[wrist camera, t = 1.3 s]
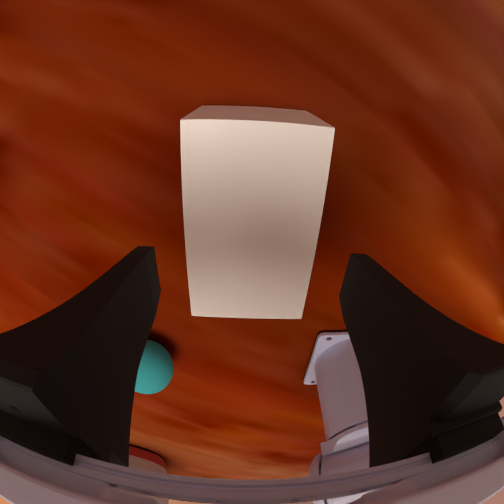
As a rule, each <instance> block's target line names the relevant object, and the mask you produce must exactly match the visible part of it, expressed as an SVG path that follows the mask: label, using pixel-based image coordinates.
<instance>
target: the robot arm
mask: <svg viewBox="0 0 504 504" xmlns="http://www.w3.org/2000/svg"><path fill="white" fill-rule="evenodd" d="M160 292H161V289H160V283H159V277H158V271H157V264H156V257H155V250H154V247H149V246H138V247H137V248H135V249H134V250H133V251H131V252H130V253H129V254H128V255H126V256H125V257H124V258H123V259H122V260H120V261H119V262H118V263H117V264H115V265H114V266H113V267H112V268H111V269H109V270H108V271H107V272H106V273H105V274H103V275H102V276H101V277H99V278H98V279H97V280H96V281H94V282H93V283H92V284H90V285H89V286H88V287H86V288H85V289H84V290H82V291H81V292H80V293H78V294H77V295H75V296H74V297H72V298H71V299H69V300H68V301H66V302H65V303H63V304H62V305H60V306H58V307H56V308H55V309H53V310H51V311H49V312H47V313H46V314H44V315H42V316H40V317H38V318H36V319H34V320H32V321H30V322H28V323H26V324H24V325H21V326H19V327H17V328H15V329H12V330H10V331H7V332H4V333H1V334H0V497H2V498H3V499H5V500H6V501H8V502H10V503H11V504H158V503H157V501H156V500H155V499H153V498H149V497H145V496H141V495H137V494H134V493H138V494H143V495H148V496H153V497H159V498H166V499H173V500H181V501H190V502H199V503H213V504H284V503H297V502H307V501H313V503H314V504H481V503H483V502H484V501H486V500H487V499H489V498H490V497H492V496H493V495H495V494H496V493H498V492H499V491H500V490H502V489H503V488H504V417H502V418H501V419H500V417H499V414H498V412H500V411H501V409H502V406H501V404H500V402H499V400H501V399H502V398H503V397H504V344H501V343H499V342H496V341H493V340H491V339H489V338H486V337H484V336H482V335H480V334H478V333H475V332H474V331H472V330H470V329H468V328H466V327H464V326H462V325H460V324H459V323H457V322H455V321H453V320H452V319H450V318H448V317H447V316H445V315H444V314H442V313H441V312H439V311H438V310H436V309H435V308H433V307H432V306H430V305H429V304H427V303H426V302H425V301H423V300H422V299H421V298H419V297H418V296H417V295H416V294H414V293H413V292H412V291H410V290H409V289H408V288H407V287H405V286H404V285H403V284H402V283H401V282H399V281H398V280H397V279H396V278H395V277H394V276H392V275H391V274H390V273H389V272H388V271H386V270H385V269H384V268H383V267H382V266H380V265H379V264H378V263H377V262H376V261H374V260H373V259H372V258H370V257H369V256H367V255H366V254H351V255H350V259H349V262H348V266H347V270H346V273H345V277H344V281H343V284H342V288H341V291H340V294H339V298H340V304H341V309H342V314H343V319H344V322H345V325H346V328H347V331H348V332H324V333H320V334H319V335H318V336H317V340H316V343H315V346H314V349H313V353H312V356H311V359H310V362H309V365H308V368H307V371H306V374H305V377H304V384H306V385H310V384H317V388H318V394H319V399H320V405H321V411H322V417H323V423H324V429H325V436H326V442H323V443H321V444H320V445H321V452H322V453H319V454H317V455H316V456H315V457H314V459H313V461H312V463H311V465H310V468H309V476H308V477H302V478H289V479H268V480H232V479H211V478H198V477H188V476H179V475H171V474H164V473H157V472H151V471H145V470H140V469H135V468H130V467H129V438H130V425H131V414H132V406H133V399H134V392H135V386H136V380H137V374H138V369H139V365H140V362H141V358H142V355H143V352H144V349H145V346H146V343H147V340H148V337H149V334H150V331H151V328H152V325H153V322H154V319H155V315H156V312H157V307H158V302H159V297H160ZM328 337H329V338H328ZM127 491H128V492H127ZM131 492H133V493H131Z"/></svg>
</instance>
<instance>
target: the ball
mask: <svg viewBox="0 0 504 504" xmlns="http://www.w3.org/2000/svg"><path fill="white" fill-rule="evenodd" d="M172 375H173V362H172V359H171V356H170V354H169V353H168V351H167V350H166V349H165V348H164V347H163V346H162V345H160V344H159V343H157V342H155V341H152V340H147V343H146V346H145V349H144V352H143V355H142V358H141V362H140V365H139V369H138V374H137V380H136V386H135V391H136V392H138V393H142V394H154V393H157V392H159V391H161V390H163V389H164V388H165V387H166V386H167V385H168V384H169V382H170V381H171V378H172Z"/></svg>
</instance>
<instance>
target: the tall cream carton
mask: <svg viewBox="0 0 504 504" xmlns="http://www.w3.org/2000/svg"><path fill="white" fill-rule="evenodd" d="M180 130H181V174H182V198H183V217H184V233H185V247H186V260H187V272H188V283H189V294H190V304H191V313H192V316H206V317H228V318H262V319H301V318H302V313H303V309H304V304H305V300H306V295H307V290H308V286H309V281H310V276H311V271H312V266H313V261H314V256H315V251H316V245H317V240H318V235H319V229H320V224H321V218H322V212H323V206H324V200H325V194H326V188H327V181H328V175H329V168H330V161H331V154H332V147H333V139H334V131H335V128H334V127H333V126H331V125H329V124H328V123H326V122H324V121H323V120H321V119H320V118H318V117H316V116H315V115H313V114H311V113H309V112H308V111H303V110H294V109H282V108H269V107H251V106H201V107H199V108H198V109H196V110H195V111H193V112H191V113H190V114H188V115H187V116H185V117H184V118H182V119H181V120H180Z"/></svg>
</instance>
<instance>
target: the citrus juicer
mask: <svg viewBox="0 0 504 504" xmlns="http://www.w3.org/2000/svg"><path fill="white" fill-rule="evenodd" d="M129 467H130V468H135V469H140V470H145V471H151V472H157V473H164V474H167V469H166V466H165V463H164V460H163V459H162V458H161V457H160V456H159V455H157V454H154V453H151V452H148V451H145V450H143V449H139V448H136V447H132V446H129ZM127 492H128V491H127ZM131 493H133V492H131ZM134 494H137V495H141V496H145V497H149V498H153V499H155V500H156V501H157V503H158V504H168V500H169V499H166V498H159V497H153V496H148V495H143V494H138V493H134Z"/></svg>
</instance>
